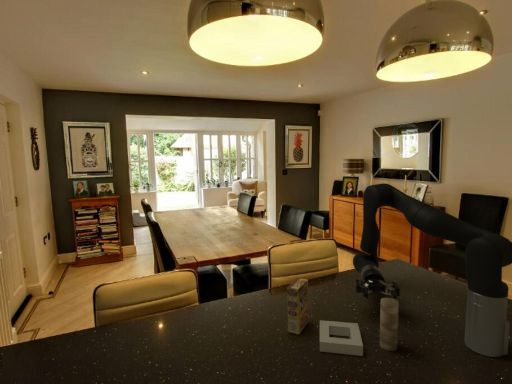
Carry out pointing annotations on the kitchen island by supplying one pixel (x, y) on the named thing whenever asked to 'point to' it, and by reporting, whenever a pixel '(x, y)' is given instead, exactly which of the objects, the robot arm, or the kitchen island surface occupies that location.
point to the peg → (389, 324)
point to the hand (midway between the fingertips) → (380, 297)
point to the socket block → (340, 344)
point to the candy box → (297, 305)
